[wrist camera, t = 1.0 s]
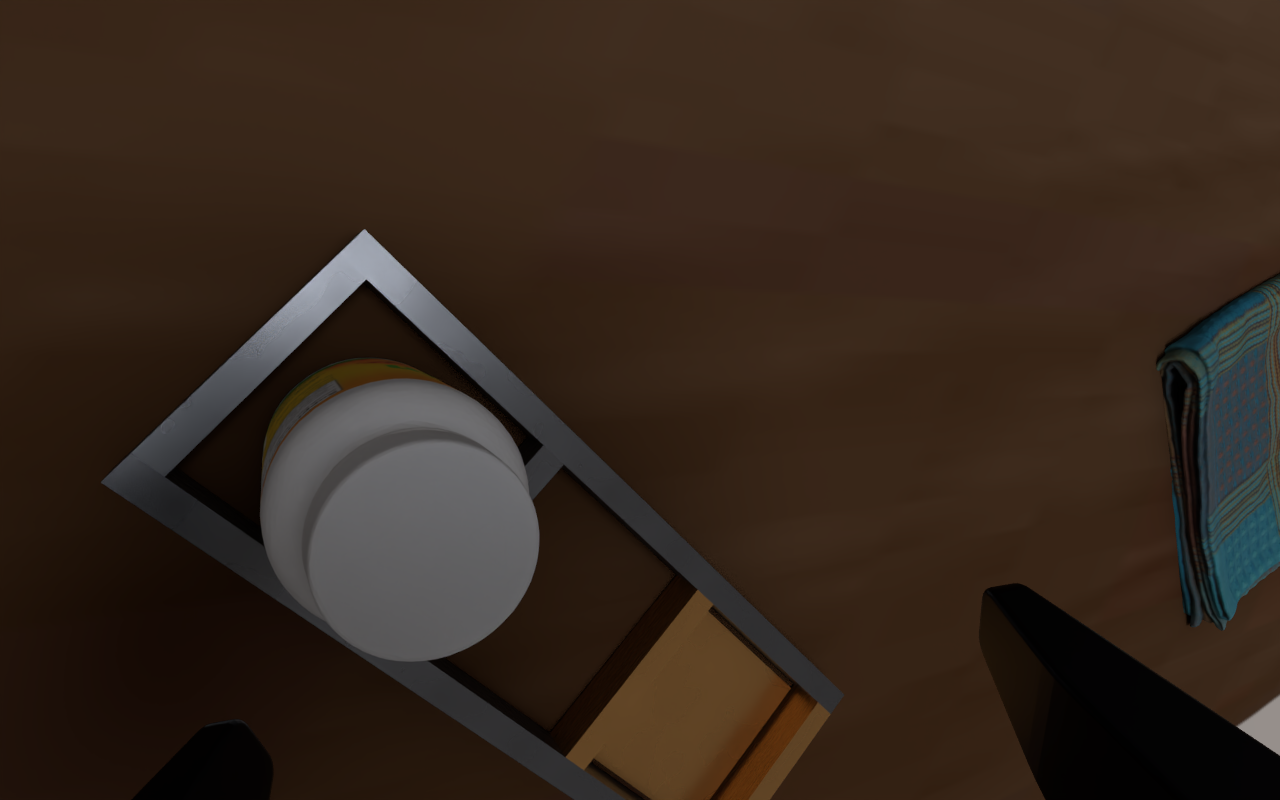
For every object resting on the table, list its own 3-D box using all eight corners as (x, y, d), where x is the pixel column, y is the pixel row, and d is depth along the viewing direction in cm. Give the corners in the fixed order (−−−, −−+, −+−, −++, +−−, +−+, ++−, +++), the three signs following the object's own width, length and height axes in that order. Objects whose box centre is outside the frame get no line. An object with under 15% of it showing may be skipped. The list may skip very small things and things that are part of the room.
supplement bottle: (496, 429, 23) (631, 511, 15) (383, 573, 22) (456, 752, 14) (350, 316, 21) (408, 332, 12) (216, 471, 20) (177, 607, 11)
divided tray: (686, 860, 29) (706, 888, 27) (112, 468, 19) (100, 482, 18) (818, 677, 30) (844, 694, 29) (358, 233, 21) (364, 229, 19)
